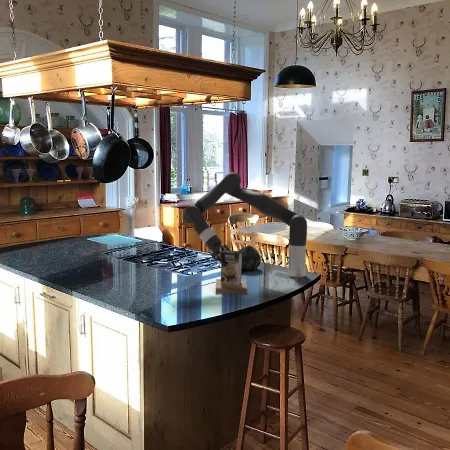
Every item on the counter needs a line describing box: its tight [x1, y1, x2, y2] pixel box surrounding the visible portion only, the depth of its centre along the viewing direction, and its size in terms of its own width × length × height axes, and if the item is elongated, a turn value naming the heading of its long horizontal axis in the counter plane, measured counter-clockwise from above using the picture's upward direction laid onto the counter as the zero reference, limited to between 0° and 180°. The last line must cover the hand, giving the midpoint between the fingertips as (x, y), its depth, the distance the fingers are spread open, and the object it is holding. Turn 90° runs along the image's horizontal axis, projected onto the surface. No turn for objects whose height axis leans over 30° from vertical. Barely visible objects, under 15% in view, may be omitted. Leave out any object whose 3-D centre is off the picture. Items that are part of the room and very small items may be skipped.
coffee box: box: [220, 249, 242, 286], centre depth 249 cm, size 9×6×16 cm
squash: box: [238, 245, 262, 272], centre depth 289 cm, size 14×15×15 cm
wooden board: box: [215, 278, 248, 295], centre depth 250 cm, size 17×15×2 cm
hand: (230, 264), depth 249 cm, fingers open, 8 cm apart
